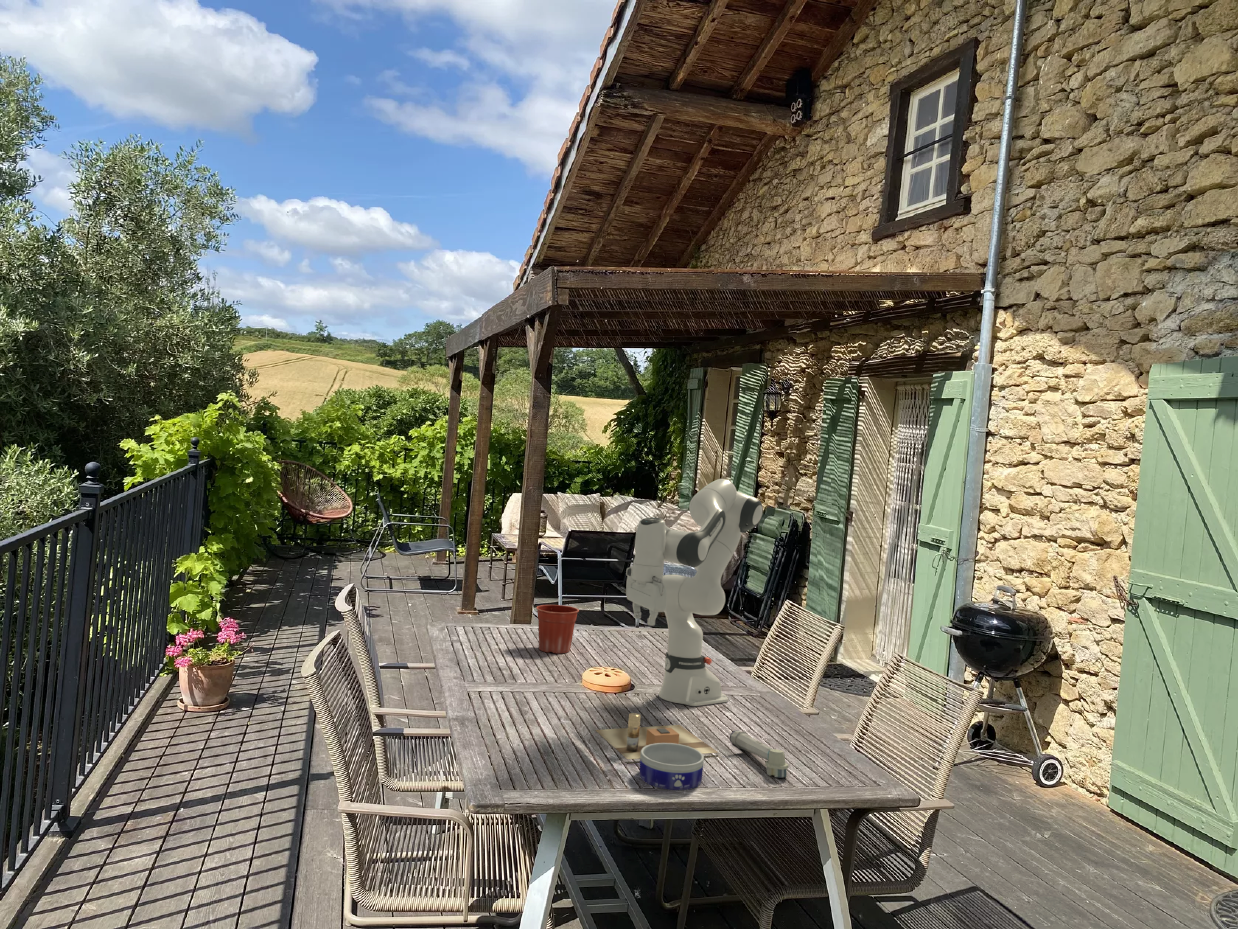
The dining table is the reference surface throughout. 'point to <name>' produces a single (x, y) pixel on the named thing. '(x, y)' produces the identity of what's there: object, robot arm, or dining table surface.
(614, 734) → the panel
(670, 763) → the dog bowl
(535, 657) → the dining table surface
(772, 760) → the angle head flashlight
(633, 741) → the amber glass vial
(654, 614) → the robot arm
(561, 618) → the flower pot
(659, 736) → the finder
